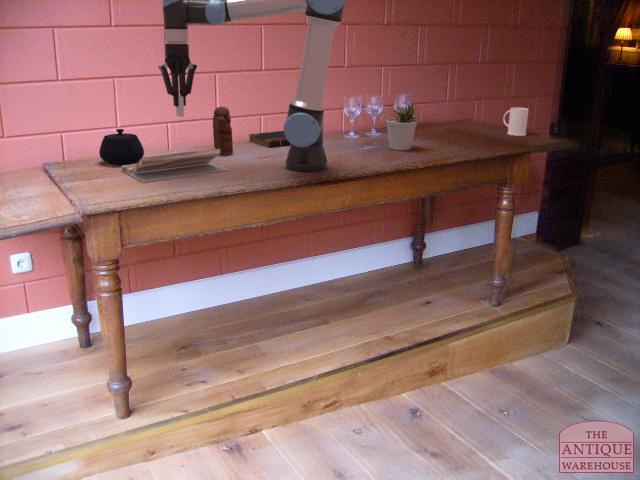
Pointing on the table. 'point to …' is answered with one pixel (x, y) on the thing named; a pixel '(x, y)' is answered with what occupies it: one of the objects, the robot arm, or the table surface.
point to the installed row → (130, 167)
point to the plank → (175, 160)
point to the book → (270, 139)
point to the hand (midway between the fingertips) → (180, 116)
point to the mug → (517, 121)
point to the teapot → (121, 148)
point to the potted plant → (402, 129)
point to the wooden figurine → (222, 131)
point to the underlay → (176, 172)
